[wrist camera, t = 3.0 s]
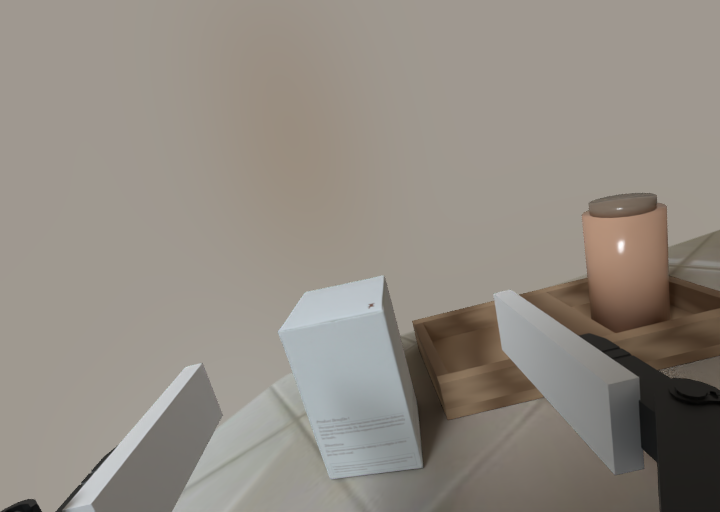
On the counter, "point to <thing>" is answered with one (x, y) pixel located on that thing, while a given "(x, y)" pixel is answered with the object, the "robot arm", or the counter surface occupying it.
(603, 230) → the terracotta jar
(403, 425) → the supplement box
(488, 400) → the walnut two-slot caddy
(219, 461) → the counter surface
